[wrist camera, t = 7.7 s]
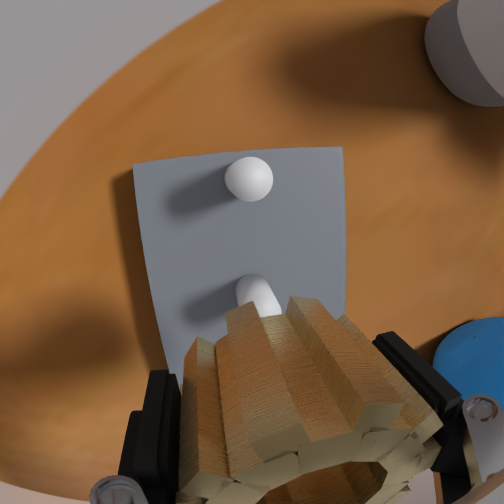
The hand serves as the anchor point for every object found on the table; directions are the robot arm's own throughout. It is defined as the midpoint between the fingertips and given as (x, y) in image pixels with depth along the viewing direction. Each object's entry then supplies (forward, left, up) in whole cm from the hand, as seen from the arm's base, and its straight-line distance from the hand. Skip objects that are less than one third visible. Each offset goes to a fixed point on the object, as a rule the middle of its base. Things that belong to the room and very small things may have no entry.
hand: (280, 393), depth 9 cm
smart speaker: (-19, -16, -12) cm, 28 cm away
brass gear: (0, 0, -1) cm, 1 cm away
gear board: (0, +2, -12) cm, 12 cm away
